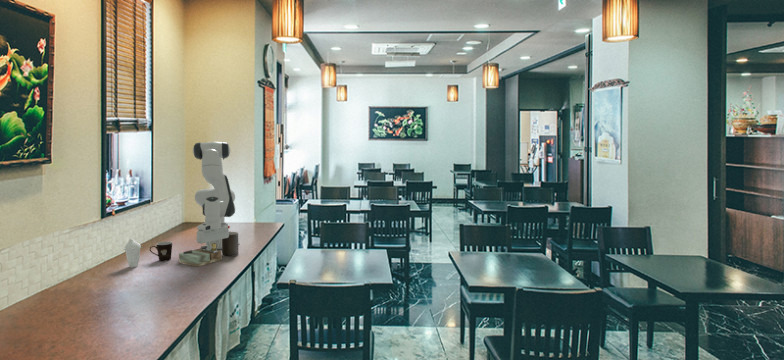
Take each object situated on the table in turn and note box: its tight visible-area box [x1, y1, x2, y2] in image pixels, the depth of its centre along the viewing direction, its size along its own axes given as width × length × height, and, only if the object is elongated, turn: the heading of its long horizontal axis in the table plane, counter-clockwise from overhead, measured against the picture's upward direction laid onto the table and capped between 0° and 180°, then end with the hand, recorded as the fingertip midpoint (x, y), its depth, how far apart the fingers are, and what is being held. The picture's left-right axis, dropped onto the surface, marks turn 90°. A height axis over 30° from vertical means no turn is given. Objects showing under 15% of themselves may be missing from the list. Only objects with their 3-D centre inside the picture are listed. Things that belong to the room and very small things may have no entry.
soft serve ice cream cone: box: [123, 238, 142, 268], centre depth 262 cm, size 8×8×16 cm
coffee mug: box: [149, 241, 173, 262], centre depth 277 cm, size 12×9×10 cm
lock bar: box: [200, 243, 218, 253], centre depth 276 cm, size 12×4×5 cm, turn 58°
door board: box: [178, 247, 222, 268], centre depth 274 cm, size 17×16×7 cm
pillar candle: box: [221, 231, 239, 258], centre depth 289 cm, size 10×10×15 cm
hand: (213, 248), depth 273 cm, fingers closed on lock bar, 3 cm apart
